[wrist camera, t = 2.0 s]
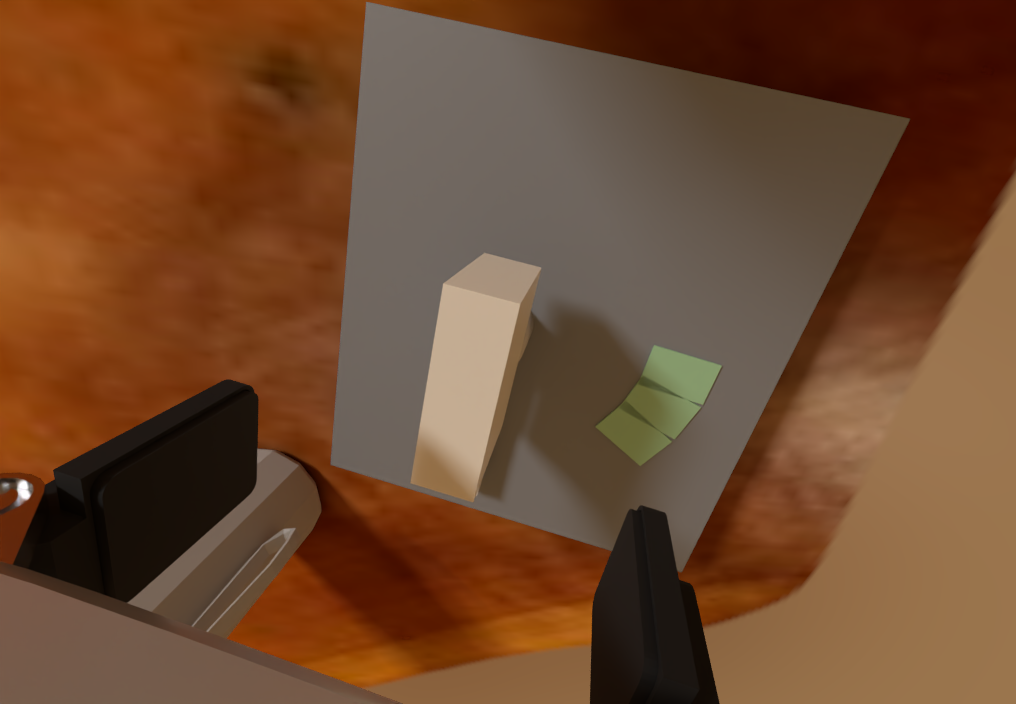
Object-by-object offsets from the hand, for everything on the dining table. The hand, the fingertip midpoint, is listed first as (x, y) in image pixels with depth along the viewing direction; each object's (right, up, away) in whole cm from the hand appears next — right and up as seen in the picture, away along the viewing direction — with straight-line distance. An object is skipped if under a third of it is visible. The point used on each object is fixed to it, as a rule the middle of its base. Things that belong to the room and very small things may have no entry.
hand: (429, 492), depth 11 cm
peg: (+1, +2, +11) cm, 12 cm away
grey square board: (+4, +5, +12) cm, 14 cm away
